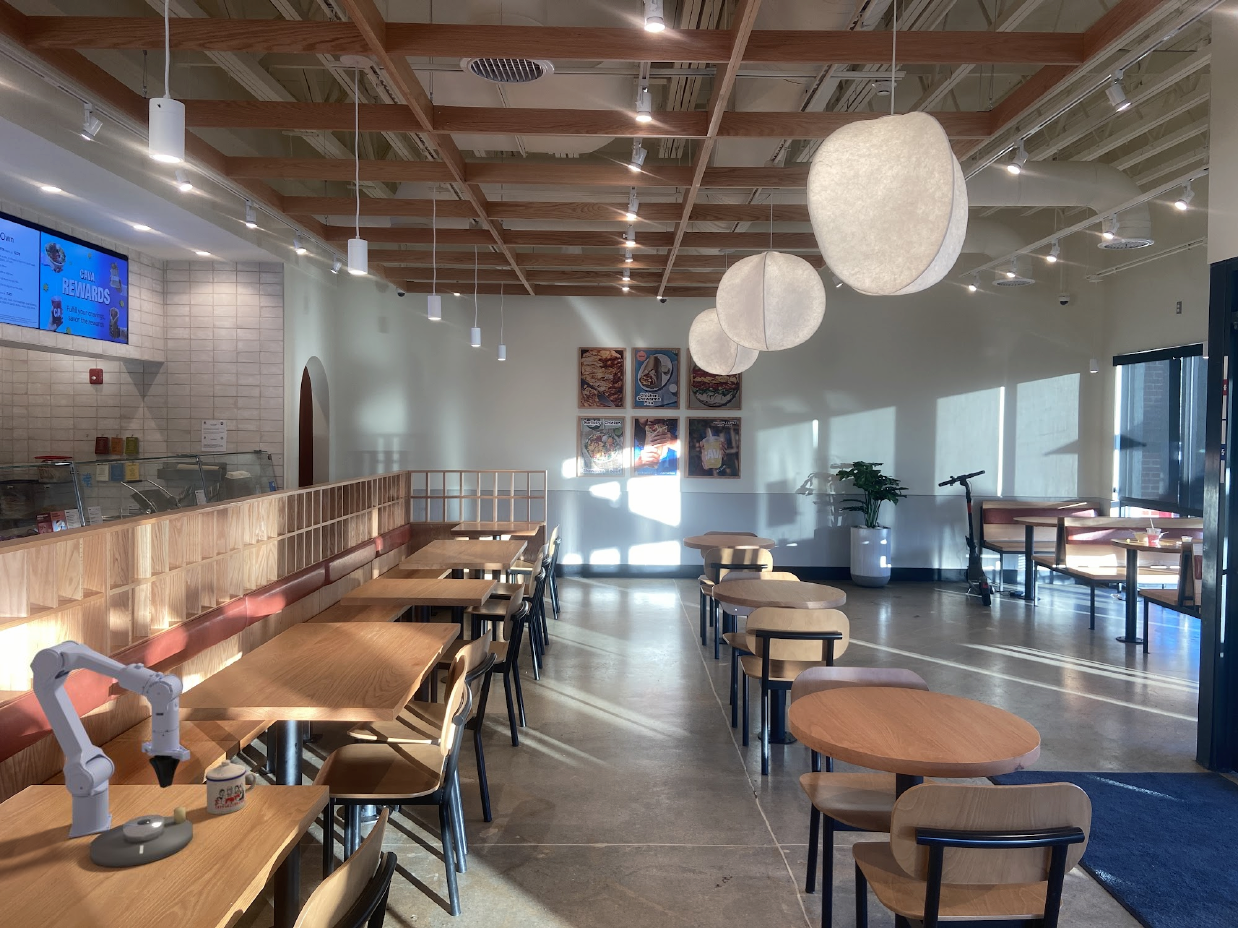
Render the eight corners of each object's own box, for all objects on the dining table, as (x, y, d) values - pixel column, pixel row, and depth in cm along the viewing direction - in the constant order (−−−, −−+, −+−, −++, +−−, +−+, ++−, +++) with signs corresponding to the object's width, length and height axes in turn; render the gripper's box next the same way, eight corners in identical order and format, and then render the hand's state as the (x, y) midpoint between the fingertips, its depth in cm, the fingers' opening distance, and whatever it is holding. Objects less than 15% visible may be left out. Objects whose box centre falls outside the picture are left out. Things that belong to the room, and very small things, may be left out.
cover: (124, 832, 188) (124, 818, 188) (164, 824, 191) (164, 811, 191) (121, 846, 181) (121, 832, 181) (163, 839, 184) (163, 824, 184)
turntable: (93, 836, 190) (93, 814, 190) (192, 818, 200) (191, 797, 199) (85, 875, 172) (85, 851, 172) (193, 853, 182) (193, 830, 182)
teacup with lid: (213, 818, 200) (213, 770, 200) (200, 807, 206) (200, 760, 206) (264, 804, 208) (263, 757, 208) (249, 793, 215) (249, 748, 215)
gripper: (129, 729, 195) (129, 786, 196) (170, 738, 189) (170, 797, 189) (157, 720, 202) (158, 776, 202) (197, 728, 195) (198, 786, 196)
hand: (166, 786), depth 196 cm, fingers closed
